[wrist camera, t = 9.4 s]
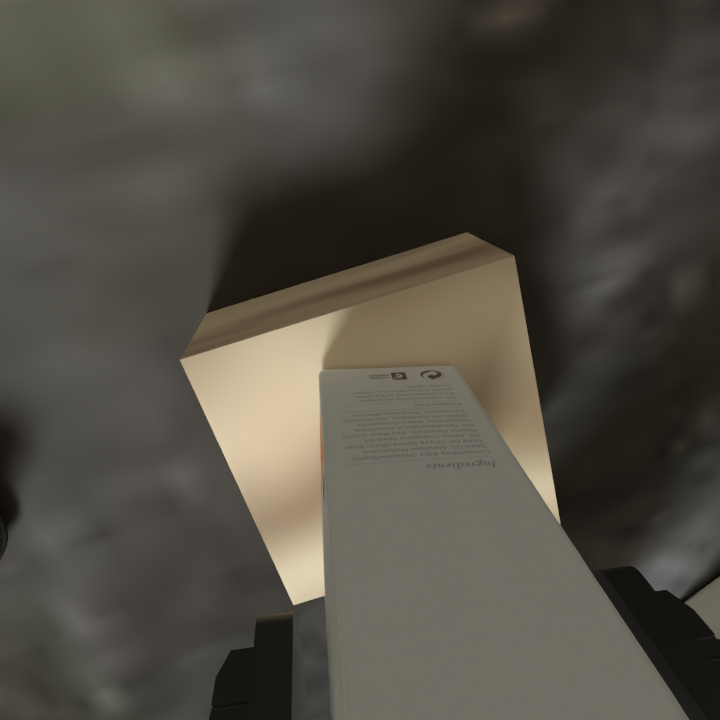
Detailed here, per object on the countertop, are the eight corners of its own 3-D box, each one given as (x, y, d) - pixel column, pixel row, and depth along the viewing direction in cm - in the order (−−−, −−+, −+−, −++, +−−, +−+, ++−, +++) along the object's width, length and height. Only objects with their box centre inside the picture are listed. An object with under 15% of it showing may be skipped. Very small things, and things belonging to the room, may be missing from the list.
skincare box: (314, 366, 16) (349, 913, 4) (455, 360, 16) (806, 851, 5) (319, 531, 18) (350, 1161, 7) (442, 522, 18) (660, 1102, 7)
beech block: (208, 310, 20) (179, 360, 15) (464, 230, 20) (514, 255, 15) (295, 515, 24) (293, 605, 19) (509, 449, 23) (560, 523, 19)
